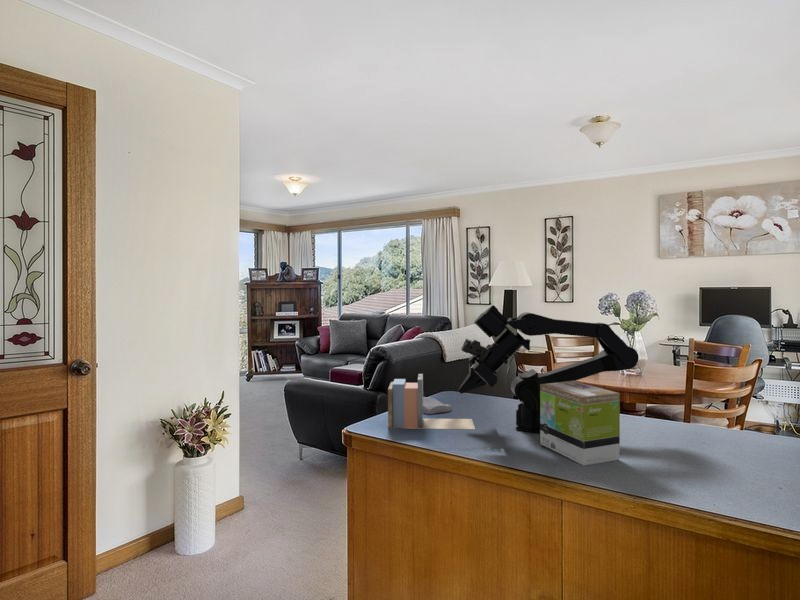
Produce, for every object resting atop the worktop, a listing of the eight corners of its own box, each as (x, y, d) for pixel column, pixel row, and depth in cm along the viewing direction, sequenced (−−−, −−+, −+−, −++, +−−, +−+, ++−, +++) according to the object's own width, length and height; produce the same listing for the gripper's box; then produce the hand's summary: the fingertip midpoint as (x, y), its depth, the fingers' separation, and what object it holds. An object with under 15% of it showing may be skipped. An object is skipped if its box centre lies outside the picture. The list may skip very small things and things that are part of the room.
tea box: (538, 445, 117) (538, 382, 117) (573, 441, 120) (573, 379, 120) (583, 467, 103) (583, 395, 103) (621, 460, 106) (621, 391, 106)
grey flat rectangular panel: (423, 417, 137) (422, 373, 137) (422, 426, 128) (422, 379, 128) (418, 417, 137) (418, 373, 137) (417, 426, 128) (417, 379, 128)
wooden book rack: (471, 423, 137) (471, 382, 136) (475, 433, 127) (475, 389, 127) (391, 422, 138) (391, 381, 138) (388, 432, 128) (387, 388, 128)
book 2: (418, 419, 137) (418, 382, 136) (417, 427, 129) (417, 388, 128) (405, 419, 137) (405, 382, 137) (404, 427, 129) (404, 388, 129)
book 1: (405, 419, 137) (405, 378, 137) (404, 427, 129) (404, 384, 129) (394, 419, 137) (394, 378, 137) (392, 427, 129) (392, 384, 129)
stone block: (434, 412, 157) (406, 410, 152) (437, 397, 157) (409, 394, 153) (454, 423, 146) (425, 420, 142) (457, 406, 146) (428, 403, 142)
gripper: (476, 325, 140) (437, 365, 141) (483, 331, 122) (438, 376, 123) (505, 353, 140) (465, 393, 141) (516, 363, 121) (470, 409, 122)
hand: (459, 392), depth 132 cm, fingers closed
